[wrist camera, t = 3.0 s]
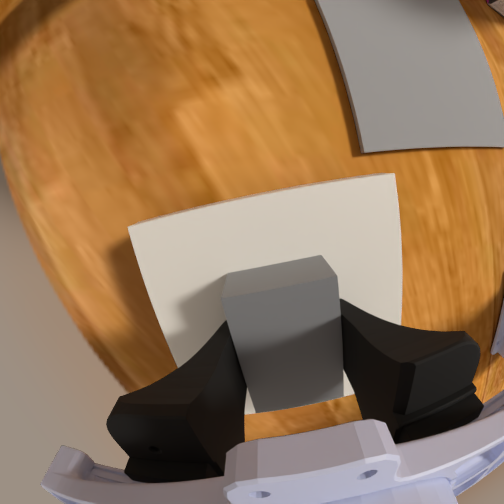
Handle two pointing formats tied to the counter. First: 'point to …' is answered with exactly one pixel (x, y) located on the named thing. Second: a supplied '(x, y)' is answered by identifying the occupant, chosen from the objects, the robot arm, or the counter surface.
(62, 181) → the counter surface
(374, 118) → the mat
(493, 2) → the candy bar box
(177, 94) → the counter surface
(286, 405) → the lid
